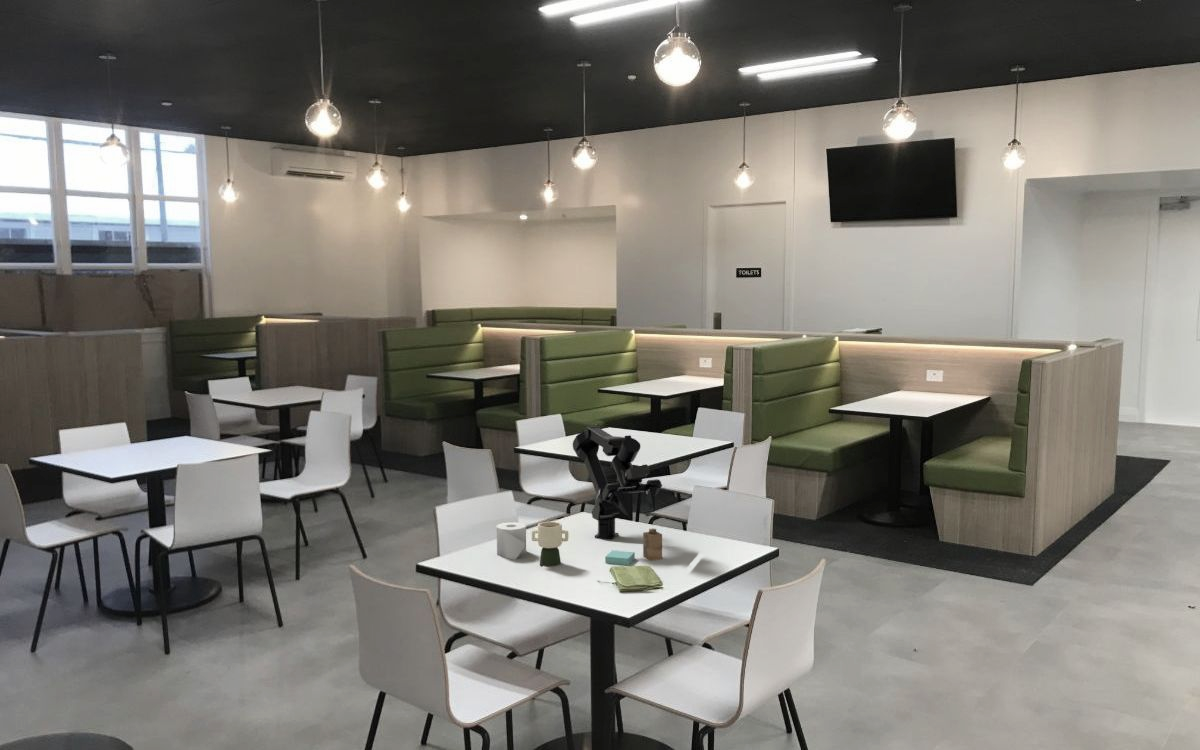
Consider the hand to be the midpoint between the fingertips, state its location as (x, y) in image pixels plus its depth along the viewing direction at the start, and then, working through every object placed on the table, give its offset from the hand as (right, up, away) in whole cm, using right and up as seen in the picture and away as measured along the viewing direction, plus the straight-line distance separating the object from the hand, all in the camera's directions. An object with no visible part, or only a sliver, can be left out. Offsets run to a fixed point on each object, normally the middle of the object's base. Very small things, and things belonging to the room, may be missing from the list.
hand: (640, 512), depth 280 cm
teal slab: (-6, -13, -9) cm, 17 cm away
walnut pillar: (+3, -14, -6) cm, 15 cm away
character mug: (-27, -15, -11) cm, 33 cm away
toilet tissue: (-40, -14, +4) cm, 42 cm away
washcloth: (-2, -16, -25) cm, 30 cm away
